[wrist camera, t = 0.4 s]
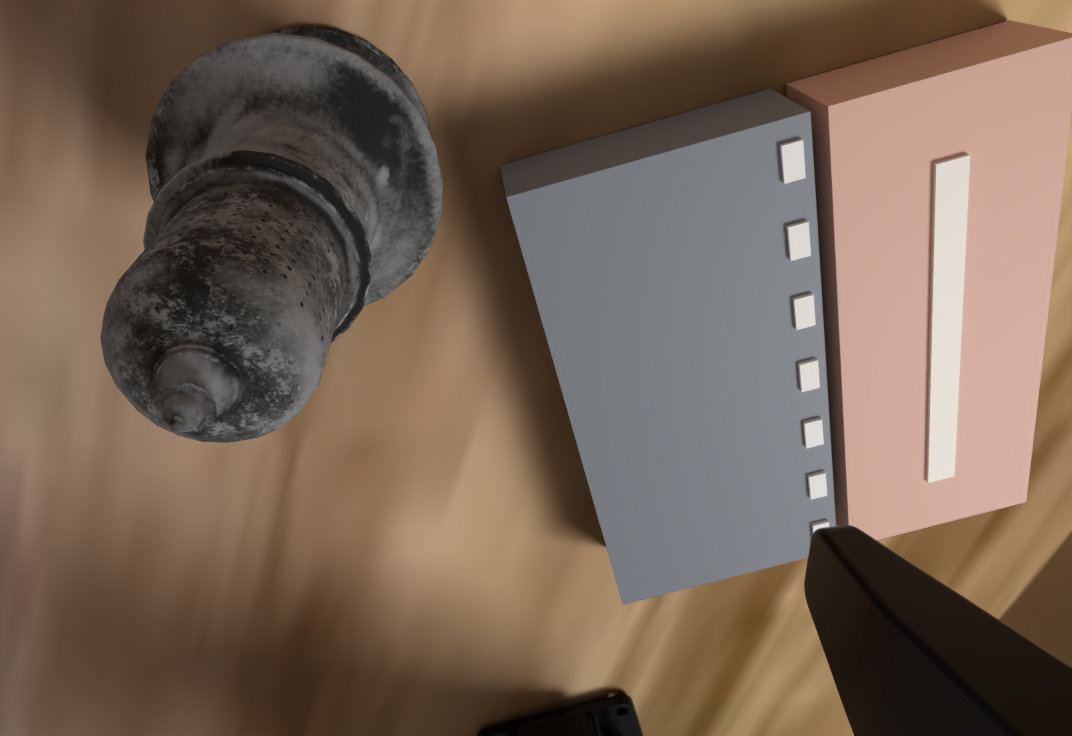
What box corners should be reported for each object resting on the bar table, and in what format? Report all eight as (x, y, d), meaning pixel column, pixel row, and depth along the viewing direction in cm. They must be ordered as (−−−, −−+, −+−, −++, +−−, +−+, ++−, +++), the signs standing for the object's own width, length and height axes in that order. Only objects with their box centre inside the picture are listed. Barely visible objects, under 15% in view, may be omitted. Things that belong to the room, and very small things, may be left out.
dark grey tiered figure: (191, 229, 20) (-88, 584, 9) (201, -22, 17) (-181, 98, 7) (420, 273, 21) (395, 630, 11) (466, 48, 18) (490, 238, 8)
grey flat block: (806, 497, 26) (839, 552, 24) (608, 549, 27) (623, 607, 25) (770, 88, 19) (812, 112, 17) (499, 165, 20) (506, 199, 17)
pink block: (979, 453, 26) (1028, 504, 24) (817, 495, 26) (851, 549, 24) (1009, 20, 19) (1084, 35, 17) (785, 83, 19) (830, 107, 17)
